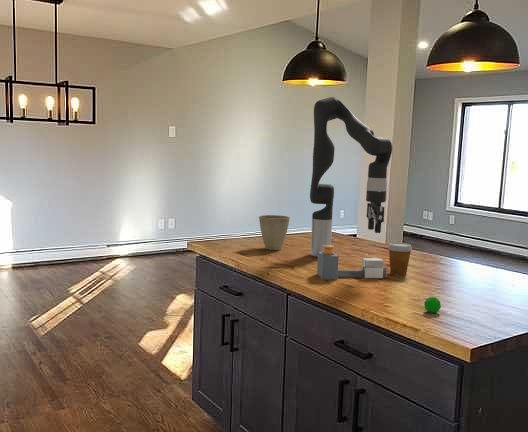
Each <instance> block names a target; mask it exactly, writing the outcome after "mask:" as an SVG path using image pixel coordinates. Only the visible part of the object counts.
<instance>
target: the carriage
mask: <svg viewBox="0 0 528 432" xmlns="http://www.w3.org/2000/svg"><path fill="white" fill-rule="evenodd" d="M384 263H385V261H384V260H383V259H381V258H380V257H362V259H361V270H365V275H364V277H363V278H364V279H368V278H369V279H384V278H383V266H384Z"/></svg>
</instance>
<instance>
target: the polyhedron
mask: <svg viewBox="0 0 528 432" xmlns="http://www.w3.org/2000/svg"><path fill="white" fill-rule="evenodd" d="M423 304H424V309H425V311H426V312H428V313H430V314H436V313H439V311H440V310H441V308H442V307H441V305H442V304H441V301H440V299H438V298H437V297H435V296H430V297H428V298H426V299H425V300H424V303H423Z"/></svg>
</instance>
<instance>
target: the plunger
mask: <svg viewBox="0 0 528 432" xmlns="http://www.w3.org/2000/svg"><path fill="white" fill-rule="evenodd" d="M323 248H324V255H332V254H333V252H334V251H333V250H334V248H335V245H332V244H331V245H323Z"/></svg>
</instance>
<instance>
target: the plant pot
mask: <svg viewBox="0 0 528 432" xmlns="http://www.w3.org/2000/svg"><path fill="white" fill-rule="evenodd" d="M290 219H291V218H290V216H287V215H280V214H279V215H275V214H265V215H264V214H263V215H259V216H258V220H259V227H260V232H261V237H262V241H263V244H264V248H265V249H266V250H268V249H269V251H280V250H282V247H283V245H284V243H285V240H286V236H287V232H288V229H289V223H290Z"/></svg>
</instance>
